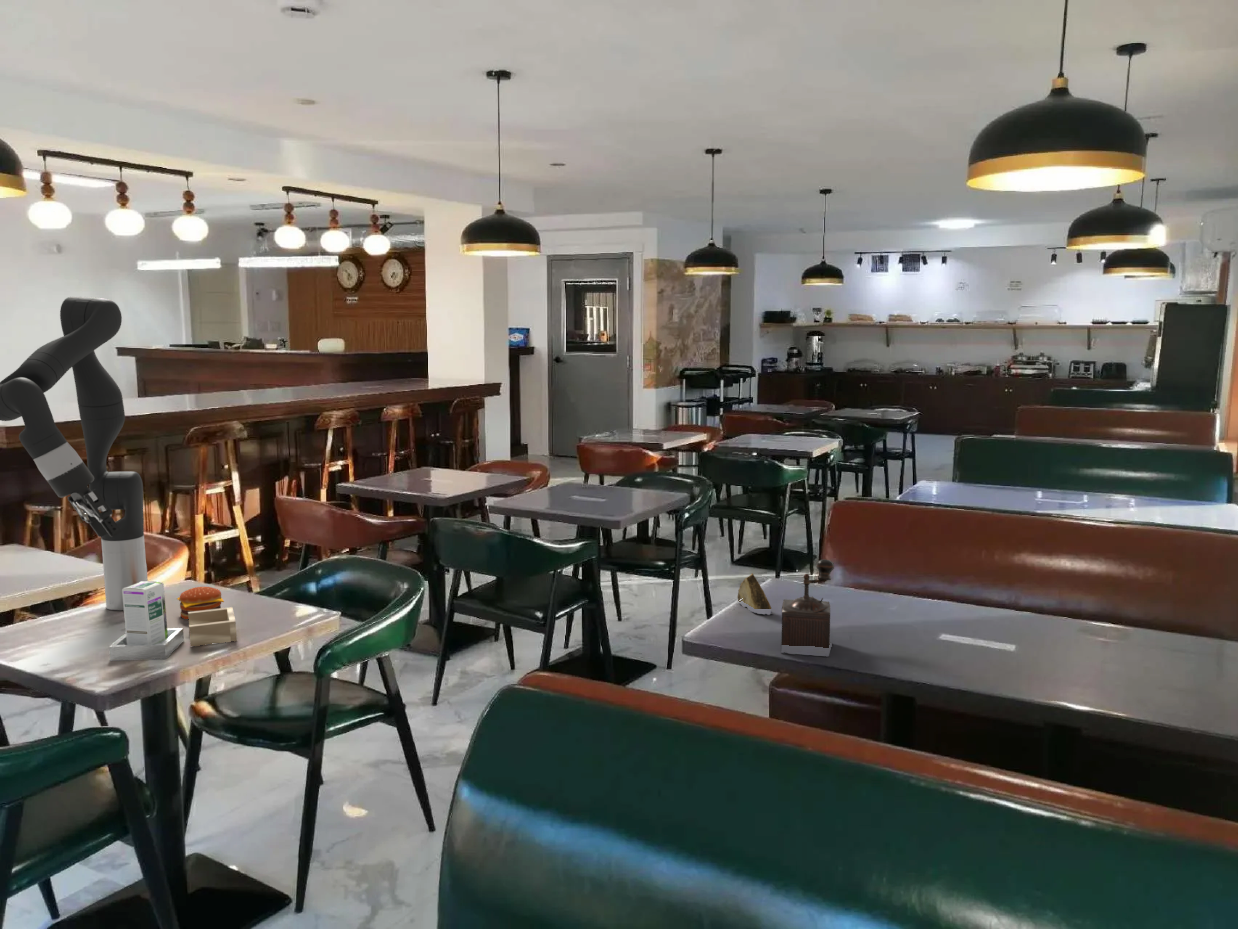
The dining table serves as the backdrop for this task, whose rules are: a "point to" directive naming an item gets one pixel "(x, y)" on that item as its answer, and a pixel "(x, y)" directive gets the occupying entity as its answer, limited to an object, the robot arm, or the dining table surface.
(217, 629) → the cradle
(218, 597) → the hamburger
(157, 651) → the gray rectangular tray
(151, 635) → the syrup box
